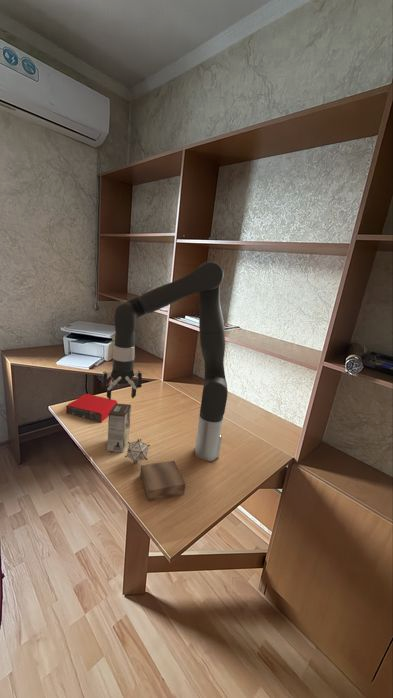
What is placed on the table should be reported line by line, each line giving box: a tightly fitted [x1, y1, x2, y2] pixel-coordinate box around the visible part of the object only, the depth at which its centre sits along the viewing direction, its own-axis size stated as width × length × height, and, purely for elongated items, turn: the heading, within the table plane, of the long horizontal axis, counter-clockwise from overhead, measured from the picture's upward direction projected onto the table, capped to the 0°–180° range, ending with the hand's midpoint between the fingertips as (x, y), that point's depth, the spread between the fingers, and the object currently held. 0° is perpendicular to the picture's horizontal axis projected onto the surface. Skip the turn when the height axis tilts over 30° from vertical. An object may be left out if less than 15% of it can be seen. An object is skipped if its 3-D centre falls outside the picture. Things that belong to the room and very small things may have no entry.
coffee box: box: [106, 402, 132, 453], centre depth 113 cm, size 9×6×16 cm
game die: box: [124, 438, 151, 464], centre depth 105 cm, size 9×8×10 cm
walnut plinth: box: [139, 460, 186, 502], centre depth 97 cm, size 12×12×4 cm
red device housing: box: [65, 393, 118, 423], centre depth 138 cm, size 18×14×5 cm
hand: (121, 397), depth 110 cm, fingers open, 8 cm apart
